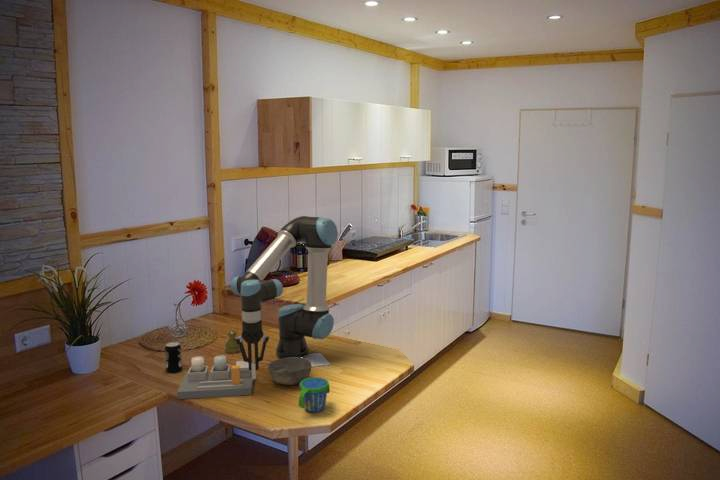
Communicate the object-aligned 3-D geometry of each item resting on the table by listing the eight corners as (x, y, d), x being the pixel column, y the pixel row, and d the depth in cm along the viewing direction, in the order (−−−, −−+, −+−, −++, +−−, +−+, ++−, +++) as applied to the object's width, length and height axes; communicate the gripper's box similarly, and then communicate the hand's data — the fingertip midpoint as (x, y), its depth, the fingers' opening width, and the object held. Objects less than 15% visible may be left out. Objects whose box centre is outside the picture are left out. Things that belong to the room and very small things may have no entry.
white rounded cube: (204, 367, 235) (204, 356, 234) (203, 372, 230) (202, 360, 230) (192, 368, 235) (192, 356, 234) (190, 372, 230) (190, 361, 229)
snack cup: (309, 420, 202) (309, 393, 200) (289, 412, 209) (288, 385, 207) (339, 405, 214) (339, 379, 212) (319, 397, 221) (318, 372, 219)
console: (254, 376, 241) (253, 362, 240) (251, 395, 223) (250, 379, 222) (185, 380, 238) (185, 365, 237) (177, 399, 220) (176, 383, 219)
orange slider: (240, 382, 228) (239, 365, 226) (239, 385, 225) (239, 368, 224) (232, 382, 227) (232, 365, 226) (232, 385, 224) (231, 368, 223)
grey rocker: (250, 363, 237) (250, 360, 237) (249, 370, 233) (249, 367, 232) (236, 364, 237) (236, 361, 236) (235, 371, 232) (235, 368, 232)
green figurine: (243, 351, 271) (242, 331, 269) (228, 354, 267) (227, 334, 265) (237, 347, 277) (236, 327, 275) (222, 350, 273) (221, 330, 271)
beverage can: (177, 373, 245) (175, 347, 243) (163, 372, 246) (161, 346, 244) (185, 368, 251) (183, 341, 249) (171, 367, 252) (169, 341, 250)
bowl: (294, 370, 248) (293, 352, 247) (320, 381, 236) (320, 363, 234) (259, 382, 236) (259, 363, 234) (285, 394, 223) (285, 375, 222)
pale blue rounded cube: (227, 366, 236) (226, 354, 235) (226, 371, 231) (225, 359, 231) (215, 367, 236) (214, 355, 235) (213, 371, 231) (213, 359, 230)
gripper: (269, 316, 227) (271, 373, 231) (235, 318, 225) (238, 374, 229) (268, 322, 220) (270, 380, 223) (233, 323, 218) (236, 382, 222)
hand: (254, 377), depth 226 cm, fingers closed
